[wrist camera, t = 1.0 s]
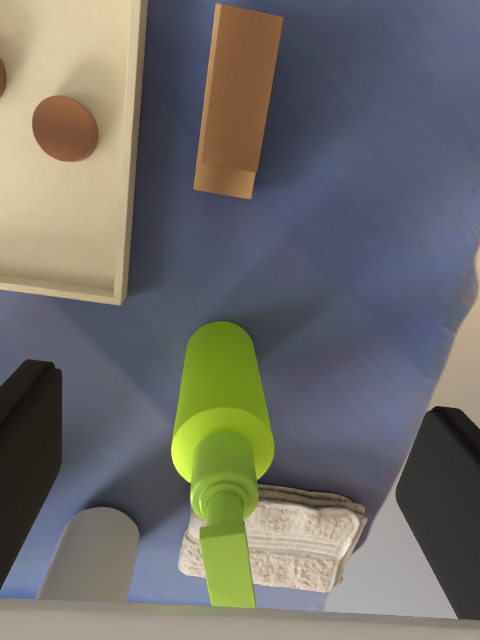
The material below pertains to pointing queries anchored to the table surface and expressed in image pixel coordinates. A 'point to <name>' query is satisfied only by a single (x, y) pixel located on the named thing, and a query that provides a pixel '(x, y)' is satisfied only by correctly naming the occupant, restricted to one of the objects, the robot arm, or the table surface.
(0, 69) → the cork disc
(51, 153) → the cork disc
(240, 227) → the table surface
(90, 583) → the can
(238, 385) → the lime green pump bottle
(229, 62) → the brush
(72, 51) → the tray
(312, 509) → the washcloth
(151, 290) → the table surface
